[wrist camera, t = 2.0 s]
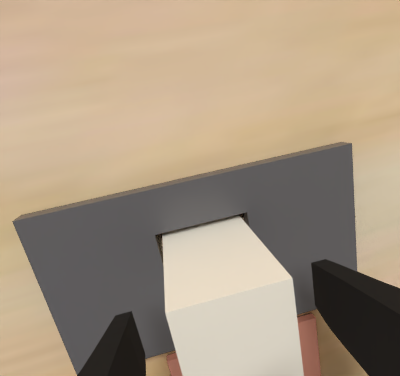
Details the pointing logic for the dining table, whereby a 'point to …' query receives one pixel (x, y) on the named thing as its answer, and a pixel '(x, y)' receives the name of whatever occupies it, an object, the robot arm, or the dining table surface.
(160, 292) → the board
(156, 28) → the dining table surface
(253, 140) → the dining table surface
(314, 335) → the mat
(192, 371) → the plug
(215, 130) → the dining table surface
